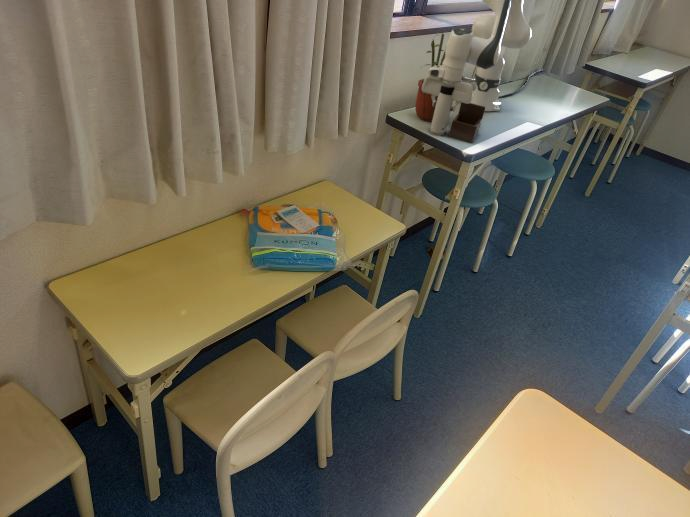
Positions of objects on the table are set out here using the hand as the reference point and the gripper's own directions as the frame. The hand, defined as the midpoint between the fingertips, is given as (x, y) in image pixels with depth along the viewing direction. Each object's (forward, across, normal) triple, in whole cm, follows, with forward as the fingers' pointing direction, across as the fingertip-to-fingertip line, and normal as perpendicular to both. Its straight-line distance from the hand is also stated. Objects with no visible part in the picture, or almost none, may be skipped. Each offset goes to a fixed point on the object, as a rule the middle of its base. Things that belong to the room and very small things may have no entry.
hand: (443, 108), depth 195 cm
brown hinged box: (+10, -10, -4) cm, 15 cm away
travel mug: (+10, 0, 0) cm, 10 cm away
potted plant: (+10, +10, -14) cm, 20 cm away
